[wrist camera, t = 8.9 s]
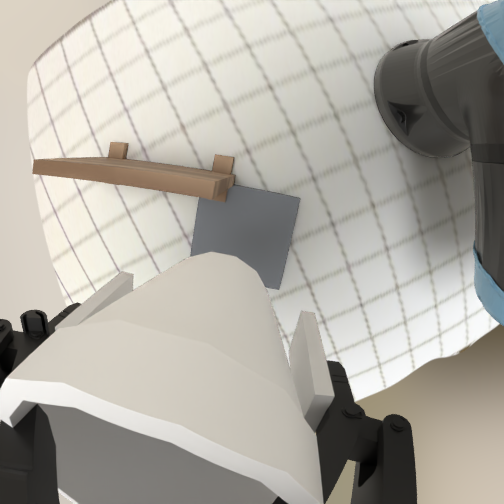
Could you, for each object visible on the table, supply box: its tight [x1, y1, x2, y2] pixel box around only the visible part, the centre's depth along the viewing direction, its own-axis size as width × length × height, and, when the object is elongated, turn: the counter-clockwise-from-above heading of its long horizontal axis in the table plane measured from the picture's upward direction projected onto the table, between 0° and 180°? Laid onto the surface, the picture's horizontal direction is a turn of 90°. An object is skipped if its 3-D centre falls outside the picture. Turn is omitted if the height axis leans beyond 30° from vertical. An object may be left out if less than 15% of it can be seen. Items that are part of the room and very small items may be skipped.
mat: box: [190, 185, 300, 290], centre depth 34 cm, size 11×11×1 cm
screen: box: [33, 142, 235, 202], centre depth 26 cm, size 5×16×14 cm, turn 79°
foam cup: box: [0, 252, 324, 504], centre depth 11 cm, size 10×9×13 cm
